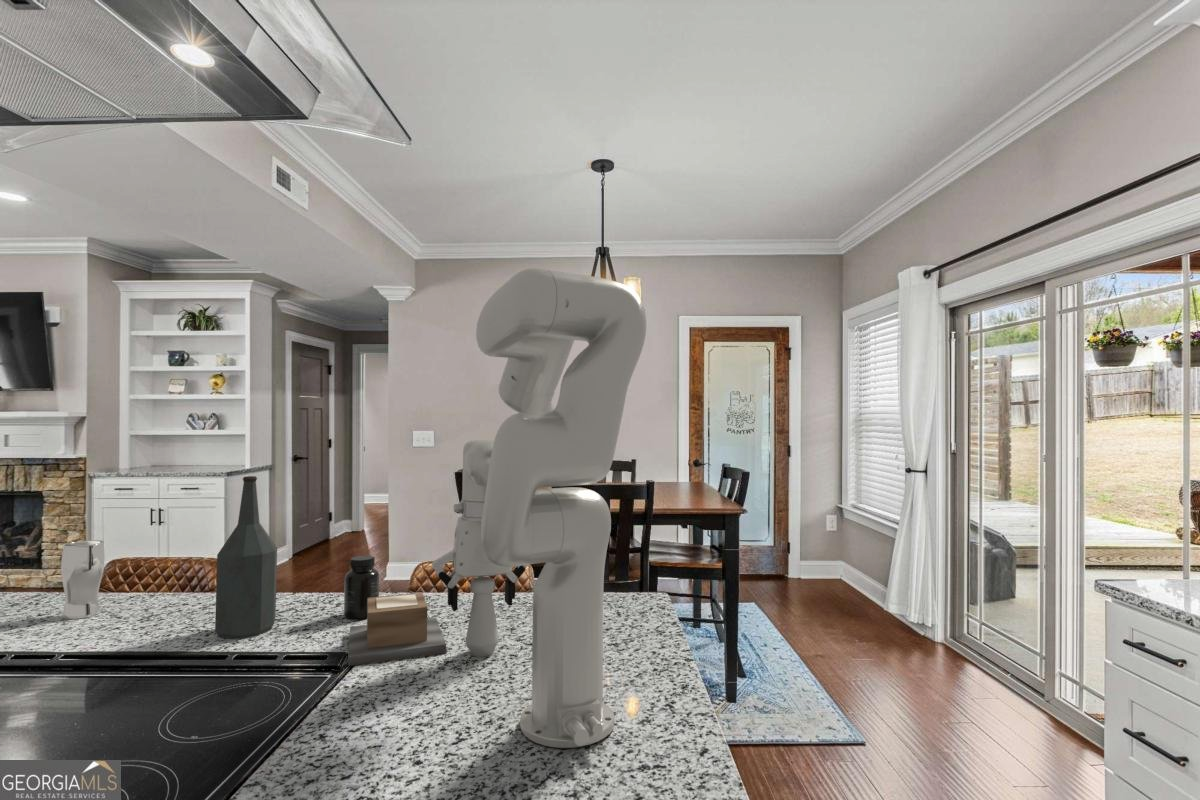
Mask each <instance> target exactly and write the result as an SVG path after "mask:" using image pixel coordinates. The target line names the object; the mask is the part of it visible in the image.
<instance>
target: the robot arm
mask: <svg viewBox="0 0 1200 800" xmlns="http://www.w3.org/2000/svg"><path fill="white" fill-rule="evenodd" d="M642 301H643V300H641V297H640V296H639V295H638V293H636V292H635V290H633V289H632V288H631V287H629V286H627V285H626V284H623V283H621V282H618V281H616V280H615V281H614V280H612V279H608V278H604V277H603V278H602V277H597V276H592V275H585V274H577V273H569V272H563V271H557V270H551V269H546V268H545V269H543V268H526V269H523V270H520V271H518V272H516V273H515V274H514V275H513V276H511V278H509V279H508V280H507V281H506V282H505V283H504V284H503V285H502V286H500V287H499V288H498V289H497V290H496V291H495V292H494V293H493V294H492V295H491V296H489V298H488V300H487V301H486V302H485V304H484V305H483V307H482V309H481V311H480V314H479V316H478V319H477V323H476V328H475V329H476V334H475V336H476V338H475V339H476V342H477V347H478V348H479V350H480V351H481V352H482V353H483V354H484V355H485V356H488V357H492V358H493V357H495V358H506V359H507V360H506V364H505V367H504V370H503V373H502V376H501V379H500V382H499V384H498V394H499V396H500V399H501V400H502V401H503V403H504V404H505V405H506V406H507V407H509V408H510V409H512V410H514V411H515V412H516V413H515V414H514V413H513V414H511V415H510V416H508V417H507V418H505V420H504V421H503V422H502V423H501V424H500V426H499V428H498V430H497V431H496V434H495V437H494V440H493V439H490V440H488V439H480V440H479V439H478V440H477V439H475V440H474V439H473V440H469V441H467V442H466V443H465V444H464V446H463V449H462V487H461V488H462V489H461V490H462V491H461V493H462V495H461V500H460V502H457V503H454V504H453V512H456V513H460V515H461V516H459V517H458V518H457V522H456V527H455V531H454V532H455V533H454V538H453V539H454V540H453V541H454V542H453V549H452V550H450V551H449V552H446V553H445V554H444V555H441V556H440V557H438V558H437V559H435V560H434V561H432V563H431V565H432V568H433V569H434V571H435V573H436V575H437V576H438V578H439V579H440V581H442V582H443V583H444V584H445V585H446V586H447V606H450V607H451V610H452V611H453V612H457V611H458V610H459V609H458V606H459V605H458V604H459V601H458V598H459V592H458V591H459V588H458V586H457V583H459V581H460V580H462V578H478V577H491V576H502V575H506V578H505V580H504V602H505V603H506V604H507V606H512V605H513V600H515V598H516V583H518V580H519V579H520V577H521V576H522V575H523V574H524V573H525V571H526V568H527V567H528V565H534V564H542V563H545V564H544V566H543V568H541V571H540V573H539V575H538V577H537V580H536V582H535V585H534V589H533V596H532V640H531V641H532V642H531V643H532V652H531V653H532V654H531V655H532V660H531V661H532V662H531V663H532V664H531V666H532V667H531V668H532V669H531V670H532V671H531V672H532V673H531V676H532V677H531V683H532V684H531V685H532V686H531V704H530V705H528V706H527V707H526V708H525V709H524V710H523V711H522V712H521V714H520V719H519V720H520V721H519V722H520V724H519V726H520V730H521V733H522V734H523V735H524V736H525V737H526V738H527V739H529V740H530V741H532V742H534V743H536V744H538V745H541V746H545V747H549V748H550V747H551V748H556V749H557V748H558V749H559V748H560V749H569V748H570V749H573V748H579V747H580V748H582V747H585V746H589V745H592V744H596V743H597V742H600V741H602V740H603V739H605V738H606V737H608V735H610V734H611V733H612V731H613V730H614V727H615V715H614V714H615V713H614V711H613V710H612V708H611V707H609V706H608V704H606V703H604V698H603V697H604V696H603V695H604V582H605V581H604V580H605V577H604V576H605V565H606V559H607V553H608V552H607V550H608V545H609V542H610V537H611V530H612V517H611V516H612V515H611V512H610V511H611V510H610V508H609V505H608V503H607V501H606V500H605V499H604V497H603V496H601V494H599V493H598V492H596V491H595V490H592V489H590V488H589V489H588V488H585V487H577V486H582V485H589V484H594V483H598V482H600V481H602V480H603V479H605V478H606V477H607V476H608V475H609V472H610V470H611V467H612V464H613V461H614V458H615V457H614V456H615V452H616V448H617V443H618V439H619V434H620V427H621V424H622V418H623V413H624V410H625V409H624V408H625V402H626V398H627V393H628V388H629V385H630V382H631V380H632V377H633V374H634V372H635V369H636V367H637V364H638V362H639V359H640V357H641V354H642V351H643V347H644V344H645V340H646V335H647V316H646V315H647V314H646V309H645V307H644V304H643V302H642ZM575 341H581V342H582V341H583V342H587V343H588V345H587V346H586V347H585V348H584V349H583V350H582V351H580V353H579V354H577V356H575V357H574V359H572V362H571V363H570V364H569V365H568V367H567V368H566V369H565V372H564V374H563V371H564V368H565V367H566V365H567V361H568V359H569V356H570V353H571V351H572V348H573V345H574V342H575ZM561 377H562V379H561ZM560 380H561V382H560ZM559 382H560V389H559V395H558V400H557V403H556V406H555V407H554V406H553V404H552V401H553V397H554V395H555V393H556V390H557V388H558V385H559ZM572 486H574V487H572ZM575 486H576V487H575ZM540 488H542V489H540ZM451 561H452V569H453V571H452V572H451V573H450V574H448V573H447V572H446V571H444V569H443V567H444V566H445V565H446V564H449V563H450V562H451ZM513 567H515V568H514V569H513Z"/></svg>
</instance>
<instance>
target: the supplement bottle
mask: <svg viewBox="0 0 1200 800" xmlns="http://www.w3.org/2000/svg"><path fill="white" fill-rule="evenodd" d="M375 561H376V559H375V556H372V555H358V556H355V557H350V560H349V564H350V565H349V569H350V570H349V571H347V573H346V574H345V575H344V589H343V591H344V592H343V594H344V597H343V616H344V617H345V619H346V620H349V621H361V620H367V601H368V598H370V597H380V573H379V570H377V569H376V568H374V567H375V566H376V563H375Z"/></svg>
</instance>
